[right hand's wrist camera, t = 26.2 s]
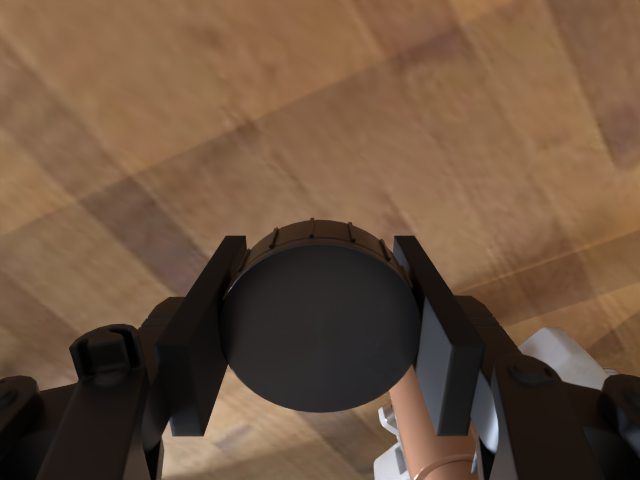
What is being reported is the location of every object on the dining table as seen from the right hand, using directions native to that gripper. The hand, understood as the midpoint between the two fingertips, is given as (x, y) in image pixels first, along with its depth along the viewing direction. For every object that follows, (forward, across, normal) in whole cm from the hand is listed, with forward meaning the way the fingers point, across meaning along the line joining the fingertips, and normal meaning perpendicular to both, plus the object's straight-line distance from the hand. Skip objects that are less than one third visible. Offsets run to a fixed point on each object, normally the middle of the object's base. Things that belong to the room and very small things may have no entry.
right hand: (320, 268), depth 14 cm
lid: (-4, 0, 0) cm, 4 cm away
